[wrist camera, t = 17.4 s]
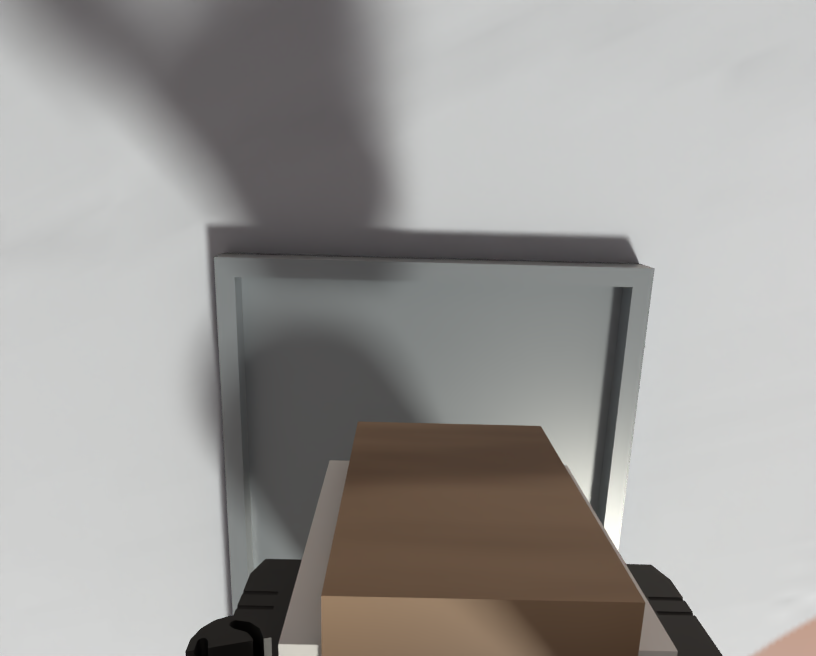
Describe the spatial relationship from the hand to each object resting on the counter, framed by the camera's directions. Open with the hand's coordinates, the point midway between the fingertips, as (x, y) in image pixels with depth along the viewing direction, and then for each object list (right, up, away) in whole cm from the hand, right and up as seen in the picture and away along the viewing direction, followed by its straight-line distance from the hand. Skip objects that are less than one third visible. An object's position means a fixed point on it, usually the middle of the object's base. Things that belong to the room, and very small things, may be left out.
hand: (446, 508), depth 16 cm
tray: (0, -3, +12) cm, 12 cm away
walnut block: (0, 0, 0) cm, 0 cm away
